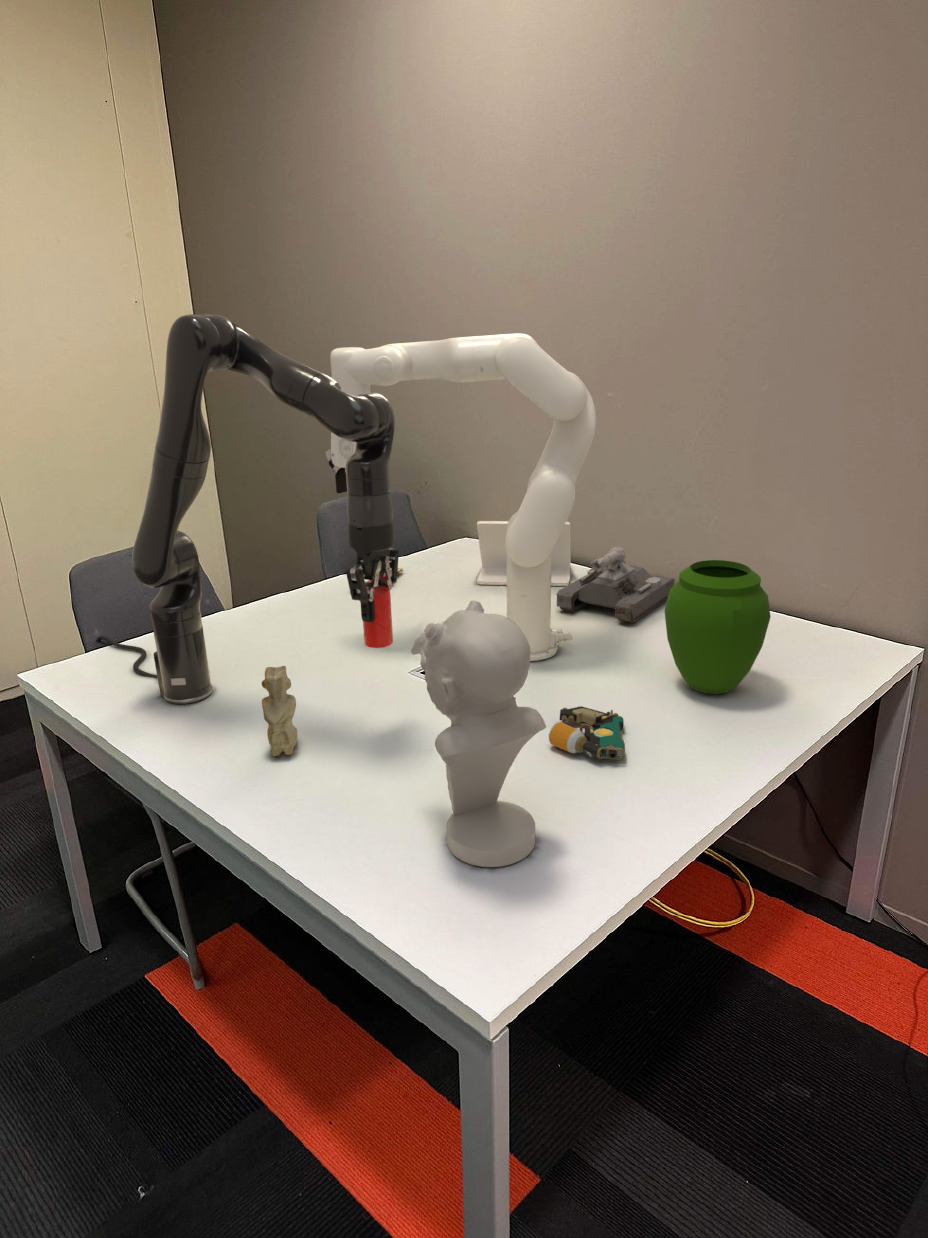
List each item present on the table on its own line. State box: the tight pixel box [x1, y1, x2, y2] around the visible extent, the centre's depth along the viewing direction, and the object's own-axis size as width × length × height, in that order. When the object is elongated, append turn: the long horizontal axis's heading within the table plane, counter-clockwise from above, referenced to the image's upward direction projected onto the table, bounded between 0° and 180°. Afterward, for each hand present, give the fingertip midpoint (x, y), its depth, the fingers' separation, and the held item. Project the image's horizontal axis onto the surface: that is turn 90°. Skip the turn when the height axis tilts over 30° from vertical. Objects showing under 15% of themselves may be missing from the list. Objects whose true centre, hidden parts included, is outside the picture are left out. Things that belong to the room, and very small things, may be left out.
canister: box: [362, 586, 394, 649], centre depth 147 cm, size 5×5×10 cm
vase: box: [664, 559, 772, 695], centre depth 164 cm, size 20×20×24 cm
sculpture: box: [261, 665, 298, 757], centre depth 147 cm, size 6×7×15 cm
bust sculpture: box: [410, 599, 547, 868], centre depth 121 cm, size 16×24×35 cm
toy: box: [556, 546, 676, 624], centre depth 212 cm, size 25×20×15 cm
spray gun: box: [548, 705, 626, 761], centre depth 149 cm, size 4×17×15 cm
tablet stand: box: [476, 520, 572, 587], centre depth 236 cm, size 18×25×17 cm
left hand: (376, 615), depth 146 cm, fingers closed on canister, 5 cm apart
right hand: (359, 494), depth 179 cm, fingers open, 9 cm apart
